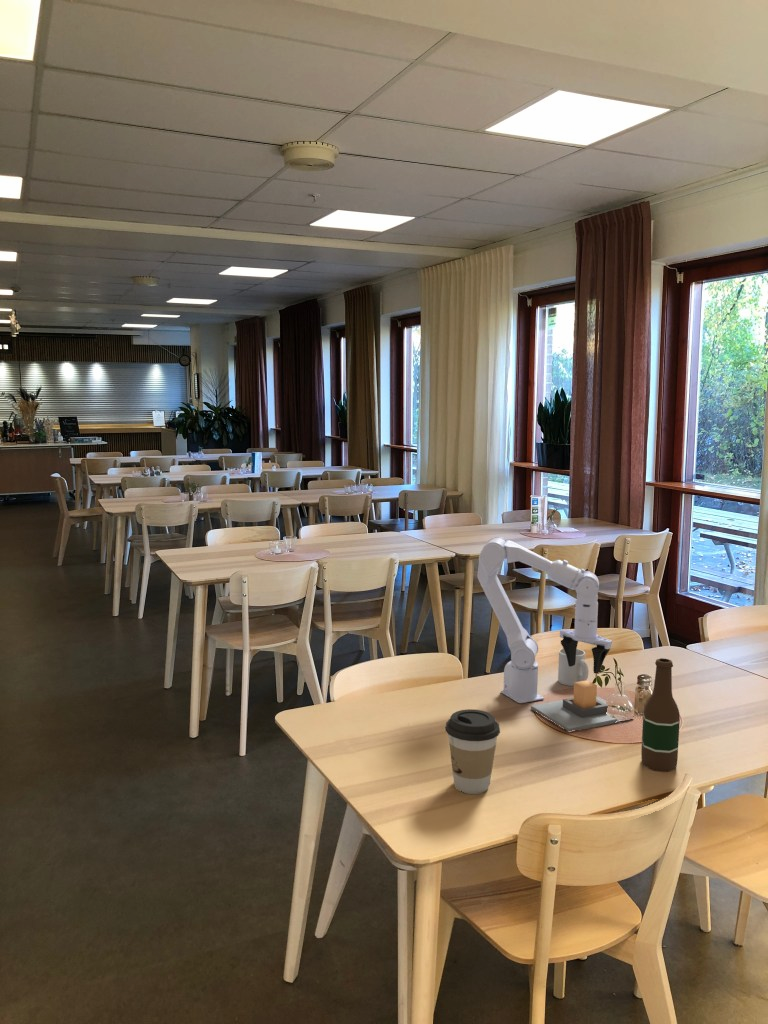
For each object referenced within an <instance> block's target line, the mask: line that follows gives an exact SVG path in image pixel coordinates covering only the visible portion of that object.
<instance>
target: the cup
mask: <svg viewBox="0 0 768 1024" xmlns="http://www.w3.org/2000/svg"><path fill="white" fill-rule="evenodd" d="M557 669H558V670H557V671H558V672H557V673H558V674H557V675H558V676H557V679H558V682H559V684H561V685H564V686H568V687H574V682H579V681H585V680H588V678H589V666H588V662H587V661H586V652H585V651H584V650H583V649H580V648H577V649H576V662H575V665H574V666H571V667H570V666H569V665H568V660H567V656H566V653H565V650H564V648H563V647H562V648H560V649H559V650H558V667H557Z"/></svg>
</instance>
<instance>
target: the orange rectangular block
mask: <svg viewBox="0 0 768 1024" xmlns="http://www.w3.org/2000/svg"><path fill="white" fill-rule="evenodd" d="M597 693H598V685H597V684H595V683H593V682H591V681H590V680H588V679H587V680H585V681H579V682H574V686H573V698H574V704H576V705H578V706H580V707H581V708H588V707H593V706H596V696H597Z"/></svg>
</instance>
